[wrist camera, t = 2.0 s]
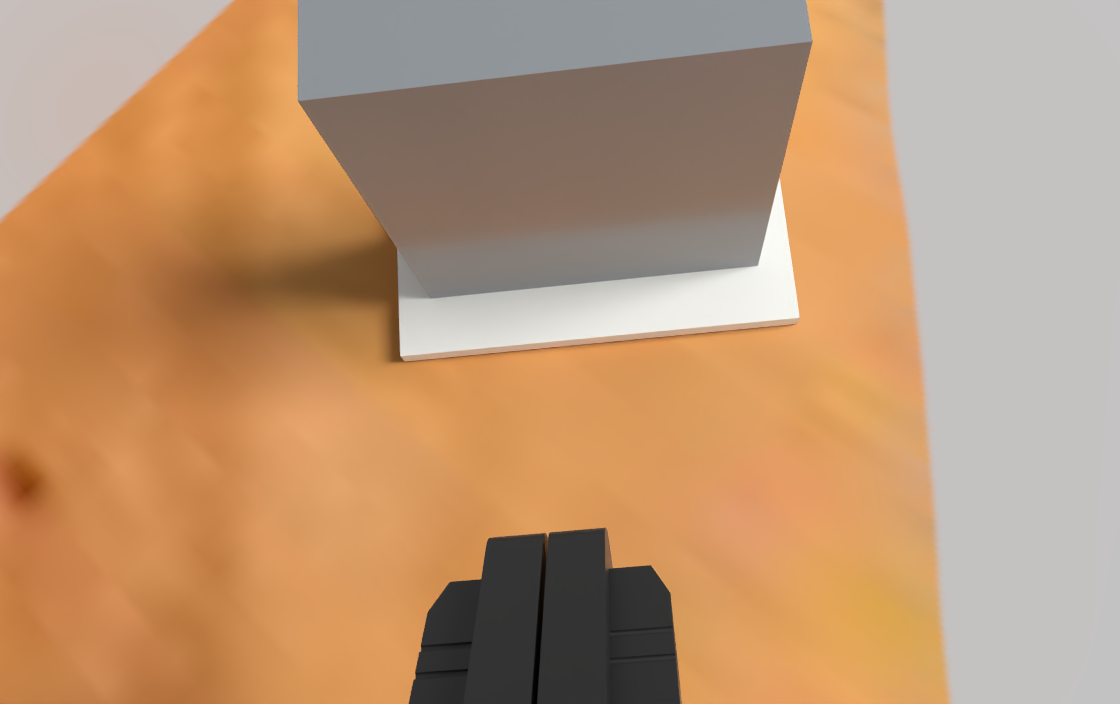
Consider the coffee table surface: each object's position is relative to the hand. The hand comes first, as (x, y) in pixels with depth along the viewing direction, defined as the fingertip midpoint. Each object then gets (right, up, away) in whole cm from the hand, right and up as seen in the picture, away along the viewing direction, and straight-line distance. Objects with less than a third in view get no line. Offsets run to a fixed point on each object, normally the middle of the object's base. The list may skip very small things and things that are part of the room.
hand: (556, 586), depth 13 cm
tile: (+1, +6, +19) cm, 20 cm away
